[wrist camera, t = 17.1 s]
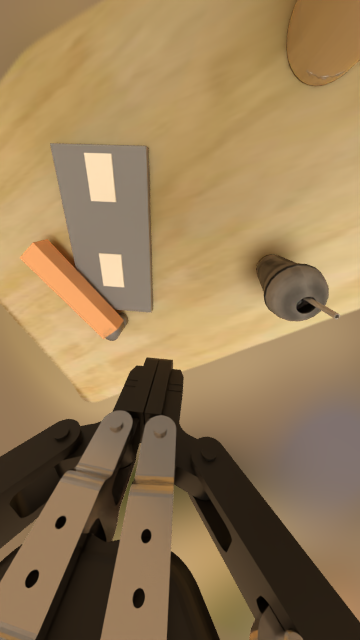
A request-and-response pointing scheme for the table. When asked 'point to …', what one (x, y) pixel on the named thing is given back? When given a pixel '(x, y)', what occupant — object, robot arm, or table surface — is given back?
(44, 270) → the swing bar
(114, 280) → the label board
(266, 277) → the beverage cup
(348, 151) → the table surface
